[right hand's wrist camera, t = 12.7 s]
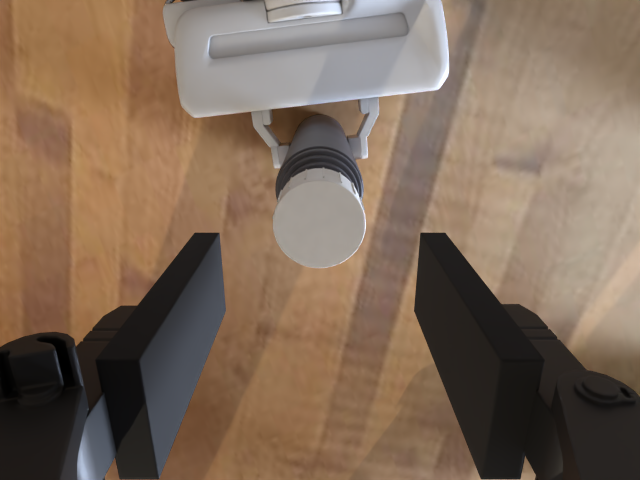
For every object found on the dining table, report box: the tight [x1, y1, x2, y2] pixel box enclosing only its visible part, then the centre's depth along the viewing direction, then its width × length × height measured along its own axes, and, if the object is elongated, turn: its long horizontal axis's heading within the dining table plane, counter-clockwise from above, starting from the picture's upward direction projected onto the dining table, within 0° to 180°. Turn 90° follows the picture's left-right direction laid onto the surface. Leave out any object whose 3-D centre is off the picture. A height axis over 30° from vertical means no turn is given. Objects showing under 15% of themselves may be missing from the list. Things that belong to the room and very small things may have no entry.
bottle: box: [276, 115, 363, 200], centre depth 31 cm, size 5×5×25 cm
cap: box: [273, 168, 366, 268], centre depth 20 cm, size 4×4×2 cm
